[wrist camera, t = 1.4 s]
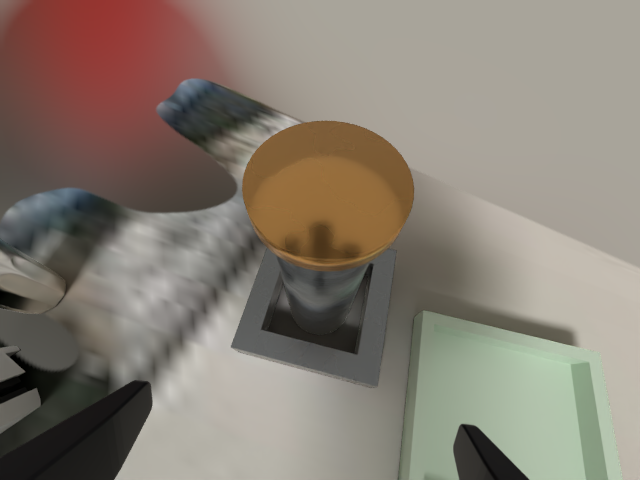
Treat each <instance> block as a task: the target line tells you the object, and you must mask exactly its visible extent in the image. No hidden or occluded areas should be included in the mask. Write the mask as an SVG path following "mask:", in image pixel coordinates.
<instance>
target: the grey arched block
mask: <svg viewBox="0 0 640 480" xmlns="http://www.w3.org/2000/svg"><path fill="white" fill-rule="evenodd" d="M19 351H21V349H20V348H19V347H18V346H16V345H15V346H10V347H4V348H0V395H1V394H2V393H4V392H5V391H7V390H8V389H10V388H11V387H13V386H15V385H16V384H18V383H19V382H21V380H20V379H19V377H18V376H20V375H21V374H23V373H24V372H25V371H24V370H23V369H22V368H21V367H20V366H18V365H17V364H16V363H15V362H14V361H13V360H12V359H11V358H10V356H12V355H13V354H15V353H17V352H19ZM40 406H41V401H40V396H39V393H38V391H37V388H35V389H33V390H31V391H28V390H27V389H26V388H25V387H24V388H22V389H19V390H17V391H15V392H12V393H10V394H7V395H5V396H3V397H0V434H1V433H2V432H4V431H5V430H6V429H8V428H9V427H11V426H12V425H14V424H15V423H17V422H18V421H20V420H21V419H23V418H24V417H25V416H27V415H28V414H30V413H31V412H33V411H34V410H36V409H37V408H39V407H40Z"/></svg>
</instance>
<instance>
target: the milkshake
mask: <svg viewBox="0 0 640 480" xmlns="http://www.w3.org/2000/svg"><path fill="white" fill-rule="evenodd" d="M65 287H66V282H65V281H64V280H63V279H62V278H61V277H60V276H59V275H58V274H57V273H55V272H54V271H52V270H50V269H49V268H47V267H46V266H44V265H42V264H41V263H39V262H37V261H36V260H34V259H32V258H31V257H29V256H27V255H26V254H24V253H22V252H21V251H19V250H18V249H16V248H14V247H13V246H11V245H9V244H8V243H6V242H5V241H3V240H2V239H0V308H1V309H6V310H10V311H15V312H21V313H26V314H42V313H44V312H46V311H48V310H50V309H51V308H53V307H55V306H56V305H57V304H58V302H59V301H60V300H61V299H62V297H63V296H64V295H65Z"/></svg>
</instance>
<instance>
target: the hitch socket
mask: <svg viewBox="0 0 640 480" xmlns="http://www.w3.org/2000/svg"><path fill="white" fill-rule="evenodd" d="M395 258H396V250H392V249H387V250H386V251H385V252H384V253H382V254H381V255H380V256H378V257H377V258H375V259H374V260H372V261H370V262H369V265H368V267H367V270H366V272H365V274H364V275H366V276H368V280H367V286H366V291H365V297H364V302H363V308H362V313H361V319H360V324H359V330H358V335H357V341H356V346H355V352H354V354H352V353H348V352H344V351H341V350H337V349H333V348H329V347H325V346H321V345H318V344H314V343H310V342H306V341H302V340H298V339H295V338H291V337H287V336H283V335H279V334H275V333H272V332H268V329H269V325H270V322H271V319H272V316H273V313H274V310H275V307H276V304H277V300H278V297H279V294H280V291H281V288H282V285H283V279H282V275H281V271H280V267H279V264H278V260H277V256H276V255H275V254H274V253H273V252H272V251H271V250H269V249H268V248H267V249H266V252H265V255H264V258H263V260H262V263H261V266H260V268H259V271H258V274H257V277H256V279H255V282H254V285H253V288H252V290H251V293H250V296H249V299H248V301H247V304H246V307H245V309H244V312H243V315H242V318H241V320H240V323H239V326H238V329H237V331H236V334H235V337H234V339H233V342H232V345H231V348H233V349H235V350H236V351H238V352H240V353H244V354H247V355H251V356H255V357H258V358H262V359H266V360H270V361H273V362H277V363H281V364H284V365H288V366H292V367H296V368H299V369H303V370H307V371H310V372H314V373H318V374H321V375H325V376H329V377H333V378H336V379H340V380H344V381H347V382H351V383H355V384H358V385H362V386H366V387H370V388H372V387H377V386H378V379H379V372H380V365H381V358H382V350H383V343H384V336H385V329H386V322H387V315H388V308H389V301H390V294H391V286H392V279H393V272H394V265H395Z"/></svg>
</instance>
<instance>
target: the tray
mask: <svg viewBox="0 0 640 480" xmlns="http://www.w3.org/2000/svg"><path fill="white" fill-rule="evenodd" d="M461 424H470V425H475V426H477V427H478V428H479V429H480V430H481V431H482V432H483V433H484V434H485V435H486V436H487V437H488V438H489V439H490V440H491V441H492V442H493V443H494V444H495V445H496V446H497V447H498V448H499V449H500V450H501V451H502V452H503V453H504V454H505V455H506V456H507V457H508V458H509V459H510V460H511V461H512V462H513V463H514V464H515V465H516V466H517V467H518V468H519V469H520V470H521V471H522V472H523V473H524V474H525V475H526V476H527V477H528V478H529V479H530V480H623V478H622V472H621V467H620V461H619V456H618V450H617V445H616V439H615V434H614V428H613V422H612V417H611V411H610V406H609V400H608V395H607V389H606V384H605V378H604V372H603V367H602V361H601V356H600V352H596V351H591V350H587V349H583V348H579V347H575V346H571V345H567V344H562V343H558V342H554V341H550V340H546V339H542V338H538V337H533V336H529V335H525V334H521V333H517V332H513V331H509V330H504V329H500V328H496V327H492V326H488V325H484V324H480V323H475V322H471V321H467V320H463V319H459V318H455V317H451V316H446V315H442V314H438V313H434V312H430V311H426V310H423V311H422V312H420V313H419V314H418V315H417V316H415V317H414V324H413V334H412V344H411V354H410V364H409V374H408V384H407V395H406V405H405V415H404V425H403V435H402V445H401V455H400V466H399V476H398V480H459V477H458V472H457V467H456V463H455V458H454V453H453V445H454V441H455V438H456V435H457V431H458V428H459V426H460V425H461Z"/></svg>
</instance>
